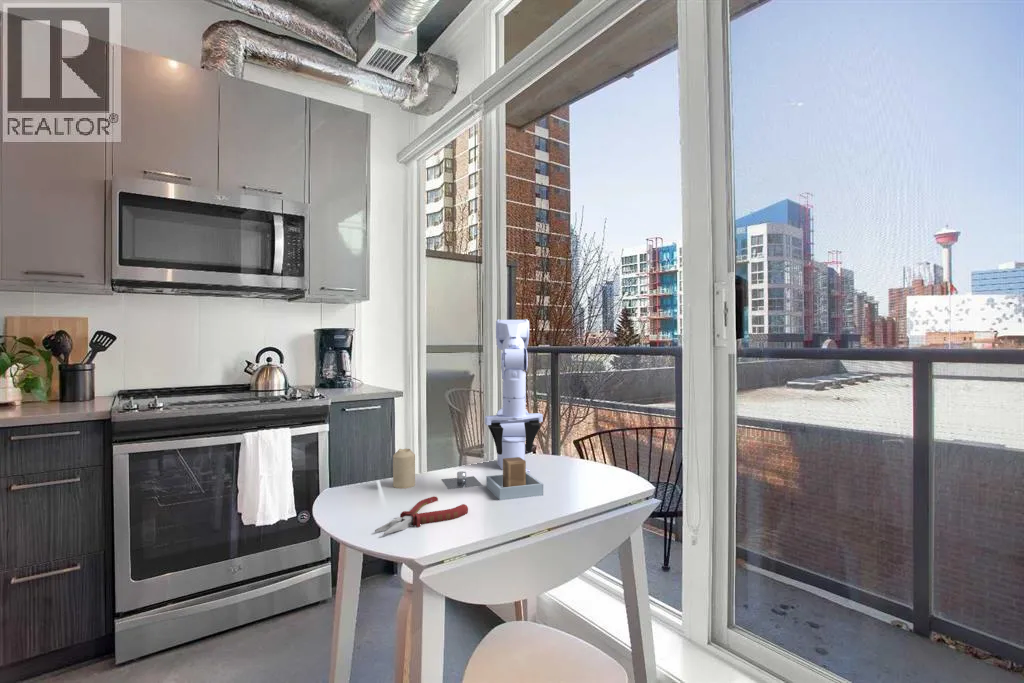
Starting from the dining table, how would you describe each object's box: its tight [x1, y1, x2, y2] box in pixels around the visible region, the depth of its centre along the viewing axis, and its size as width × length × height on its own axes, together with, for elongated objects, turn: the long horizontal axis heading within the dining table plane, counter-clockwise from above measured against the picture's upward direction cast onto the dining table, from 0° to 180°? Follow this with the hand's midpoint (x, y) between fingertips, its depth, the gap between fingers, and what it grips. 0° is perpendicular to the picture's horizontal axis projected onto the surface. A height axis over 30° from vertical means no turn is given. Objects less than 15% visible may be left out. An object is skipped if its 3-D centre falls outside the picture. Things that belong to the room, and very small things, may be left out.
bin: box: [485, 471, 544, 501], centre depth 122 cm, size 11×11×4 cm
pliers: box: [374, 495, 469, 535], centre depth 104 cm, size 12×20×3 cm, turn 143°
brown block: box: [502, 457, 527, 488], centre depth 122 cm, size 4×4×8 cm
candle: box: [392, 448, 416, 489], centre depth 127 cm, size 6×6×10 cm
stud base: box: [441, 471, 484, 490], centre depth 130 cm, size 9×9×3 cm
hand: (514, 452), depth 122 cm, fingers open, 7 cm apart
